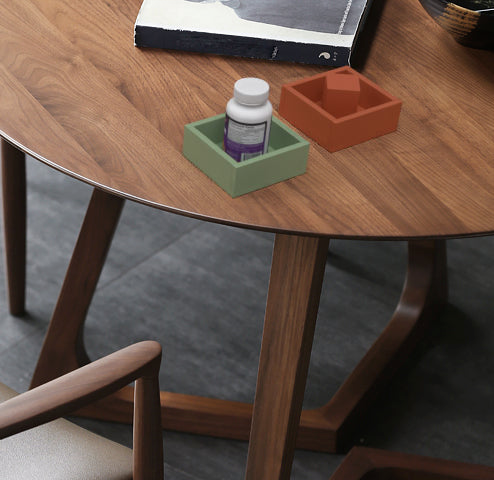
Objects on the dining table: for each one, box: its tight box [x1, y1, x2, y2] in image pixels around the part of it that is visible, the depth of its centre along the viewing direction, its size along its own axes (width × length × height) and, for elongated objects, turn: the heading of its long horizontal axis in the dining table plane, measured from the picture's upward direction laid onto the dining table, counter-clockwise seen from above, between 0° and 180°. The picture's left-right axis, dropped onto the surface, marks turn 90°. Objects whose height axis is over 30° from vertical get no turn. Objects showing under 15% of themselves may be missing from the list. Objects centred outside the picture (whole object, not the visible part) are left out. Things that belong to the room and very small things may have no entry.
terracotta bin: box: [277, 65, 403, 154], centre depth 135 cm, size 11×11×4 cm
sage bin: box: [182, 112, 311, 199], centre depth 128 cm, size 11×11×4 cm
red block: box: [321, 73, 360, 119], centre depth 134 cm, size 4×4×5 cm
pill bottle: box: [222, 77, 274, 163], centre depth 125 cm, size 5×5×10 cm
